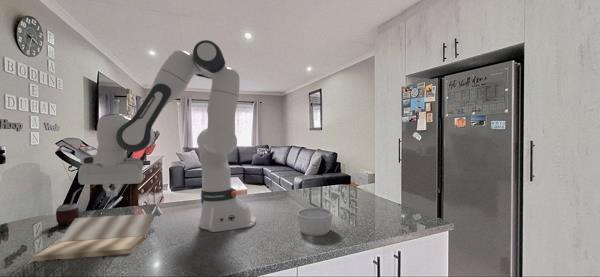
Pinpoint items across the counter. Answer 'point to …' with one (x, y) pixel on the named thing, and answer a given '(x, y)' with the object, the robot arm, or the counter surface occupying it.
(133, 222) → the whitewashed plank
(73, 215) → the mate gourd
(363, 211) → the counter surface
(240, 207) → the robot arm
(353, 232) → the counter surface
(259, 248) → the counter surface
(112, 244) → the laid oak row
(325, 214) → the ramekin
